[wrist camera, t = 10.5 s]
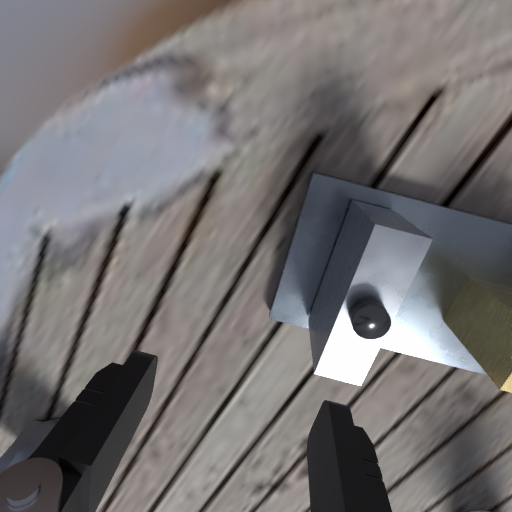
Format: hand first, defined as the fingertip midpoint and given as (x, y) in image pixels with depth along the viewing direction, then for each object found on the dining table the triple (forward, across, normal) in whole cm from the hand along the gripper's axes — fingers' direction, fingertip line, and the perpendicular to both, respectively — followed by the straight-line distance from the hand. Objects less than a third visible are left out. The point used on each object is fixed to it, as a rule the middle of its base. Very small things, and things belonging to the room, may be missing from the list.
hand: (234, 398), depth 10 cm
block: (+14, -17, 0) cm, 23 cm away
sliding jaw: (+14, -6, 0) cm, 15 cm away
